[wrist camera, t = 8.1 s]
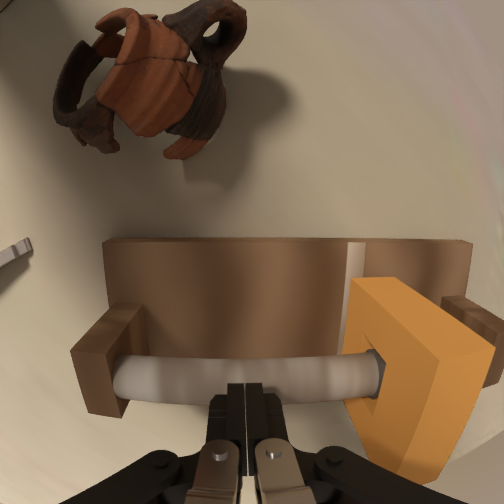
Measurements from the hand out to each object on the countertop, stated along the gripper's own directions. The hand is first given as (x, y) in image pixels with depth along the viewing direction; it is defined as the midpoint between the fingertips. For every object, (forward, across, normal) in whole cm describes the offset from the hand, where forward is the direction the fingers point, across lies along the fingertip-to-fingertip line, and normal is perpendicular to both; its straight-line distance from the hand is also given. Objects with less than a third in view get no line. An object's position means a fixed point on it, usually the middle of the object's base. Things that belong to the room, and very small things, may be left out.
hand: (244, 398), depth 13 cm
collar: (+6, -8, +1) cm, 10 cm away
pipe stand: (+9, -4, 0) cm, 10 cm away
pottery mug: (+9, +5, -16) cm, 19 cm away
